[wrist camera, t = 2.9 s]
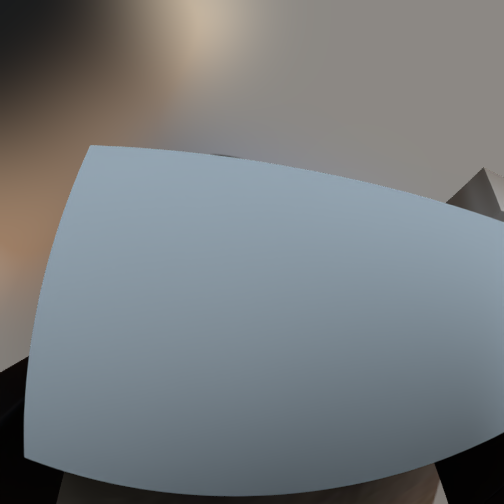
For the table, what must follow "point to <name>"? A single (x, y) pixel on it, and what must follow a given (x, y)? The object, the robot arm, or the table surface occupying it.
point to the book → (260, 328)
